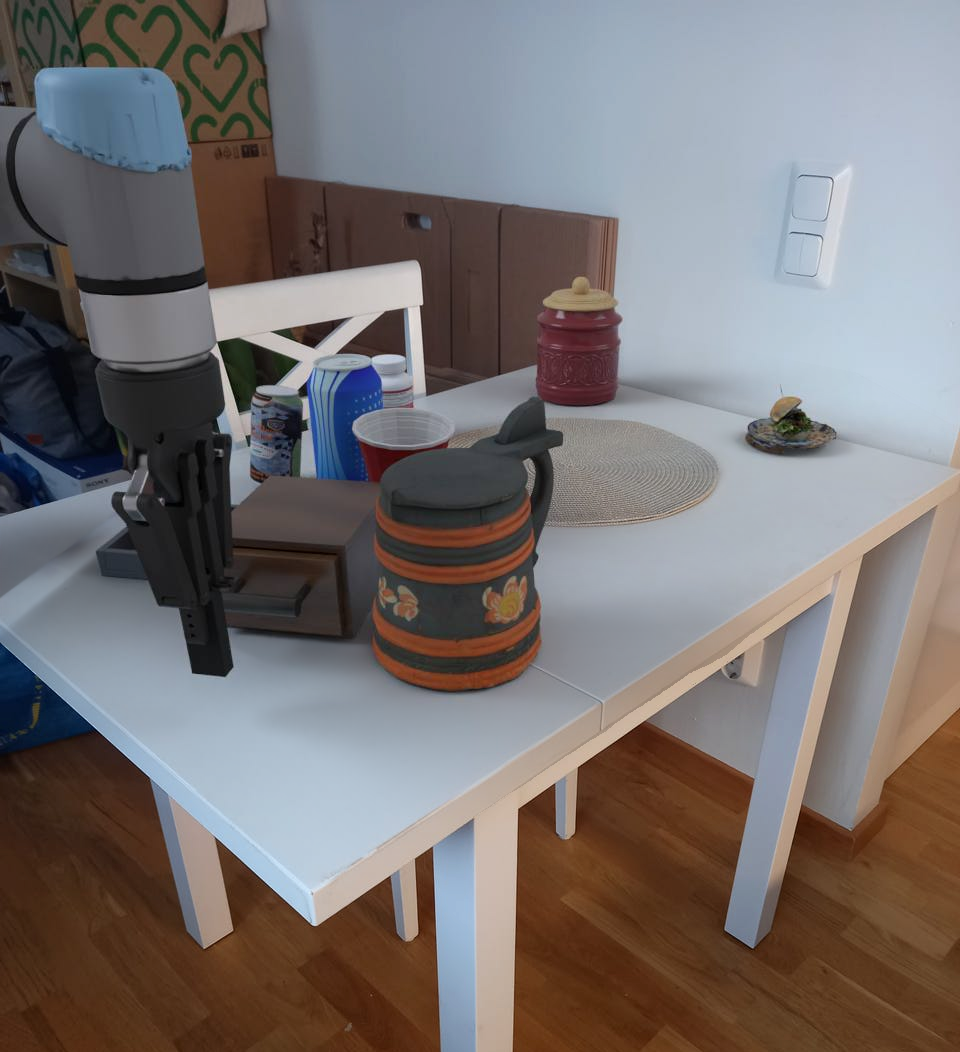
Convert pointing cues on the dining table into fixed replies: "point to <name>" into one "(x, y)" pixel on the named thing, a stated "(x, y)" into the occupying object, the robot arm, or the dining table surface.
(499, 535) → the beer stein
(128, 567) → the tray
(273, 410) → the beverage can
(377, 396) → the beer can
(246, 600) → the drawer
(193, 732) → the dining table surface
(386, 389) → the pill bottle
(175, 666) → the dining table surface
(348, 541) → the cabinet
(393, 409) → the plastic cup
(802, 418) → the burger
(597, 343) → the kitchen canister
